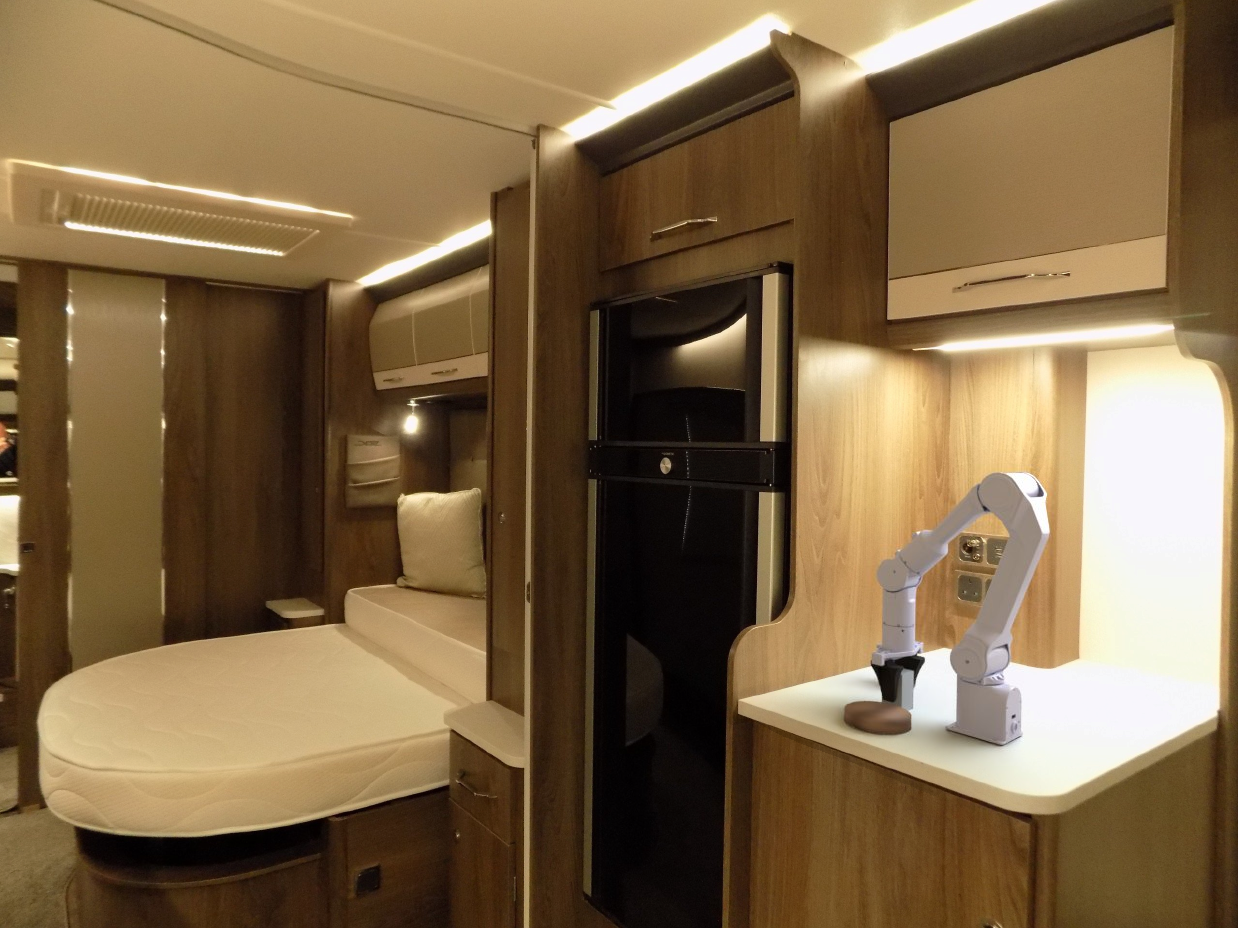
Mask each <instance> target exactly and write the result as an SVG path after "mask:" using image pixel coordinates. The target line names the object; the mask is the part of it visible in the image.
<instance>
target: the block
mask: <svg viewBox="0 0 1238 928" xmlns="http://www.w3.org/2000/svg"><path fill="white" fill-rule="evenodd" d="M913 687H914V671H912V670H908V669H904V668H903V670H902V672H901V675H900V678H899V681H898V687H897V696H896V700H895V702H889V701H886V700H883V697H882V696H881V702H883V703H889V704H893V705H896V706H899V707H902V708H904V709H906V710H908V711H909V712H910V711H911V710H913V709H914V689H913ZM914 688H915V687H914Z"/></svg>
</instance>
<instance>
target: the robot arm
mask: <svg viewBox="0 0 1238 928" xmlns="http://www.w3.org/2000/svg"><path fill="white" fill-rule="evenodd" d="M1047 495H1048V493H1047V492H1046V490H1045V488H1044V487H1043V486H1042V484H1041V483H1040V482H1039V480H1038V478H1037V477H1035V476H1034V475H1033V474H1031V473H1028V472H1025V471H1017V472H1016V471H1015V472H1009V473H1008V472H1001V471H1000V472H998V471H996V472H992V473H989V474H988V475H986V476H985V477H984V478H983V479H982V480H981V481H980V483H977V484H975V485H974V486H973V487H972V488H971V489H970V490H969V491H968V493H967V494H966V495H965V496H964V497H963V498H962V499H961V500H960V501H959V503H957V504H956V506H955V507H954V508H953V509H952V510H951V511H949V513H948V514H947V515H946V516H945V517H944V518H943V519H942V520H941V521H940V522H939V523H938V524H937V525H936V526H935V528H933V529H931V530H930V529H923V530H921V531H914V532H913V534H912V535H910V537H911V538H912V540H910V541H909V543H907V544H906V545H905V546H904V547H903V548H902V549H898V550H896V551H895V552H894V558H885V559H882V561H881V563H880V564H879V565H878V567H877V569H876V579H877V582H878V583H879V585H880V586H881V588H882V597H881V598H882V600H881V602H882V603H881V604H882V608H881V610H882V612H881V613H882V614H881V615H882V617H881V642H878V643H876V645H875V646H876V648H877V649H876V650H875V651H873V652H872V653H871V660H870V666H871V669H872V670H873V672H874V675H876V678H877V681H878V684H879V689H880V692H881V693H880V694H881V698H882V697H883V700H886V701H889V702H895V700H896V696H897V687H898V681H899V678H900V675H901V672H902V670H903V668H904V669H908V670H912V671H914V686H915V682H916V683H917V677H918V675H919V673H920V671H921V670H922V667H923V665H924V664H925V663H926V658H925V657H924V656H921V655H919V654H923V653H924V642H921V641H917V640H916V599H917V598H916V597H917V588H918V587H919V585H920V584H921V583H922V581H923V576H924V575H925V574H926V573H928V571H930V570H931V569H932V568H933V567H934V566H935V565H937V564H938V562H940V561H941V560H942V559H943V558H945V556H947V555H948V551H949V543H950V542H951V541H953V540H954V539H955V538H956V537H957V536H959V535H960V534H962V532H964V531H965V530H966V529H967V528H969V527H970V526H971V525H972V524H974V522H976V521H977V520H978V519H980V518H981V517H982V516H984V515H990V514H993V515H994V516H995V517H996V518H997V519H998V520H999V521H1001V523H1002V525H1003V526H1004V528H1005V529H1006V531H1007V533H1008V535H1009V537H1008V539H1007V541H1006V544H1005V547H1004V549H1003V551H1002V553H1001V557H1000V559H999V562H998V564H997V567H996V570H995V571H994V574H993V576H992V579H991V581H990V584H989V587H988V589H987V592H986V594H985V596H984V600H983V601H982V604H981V607H980V609H979V611H978V614H977V616H976V619H975V621H974V622H973V623H972V624H971V625H970V627H968V629H967V630H966V631H965V633H964V634H963V637H962V639H961V640H960V642H959V643H956V644H955V646H953V647H952V649H951V651H950V654H949V661H950V665H951V668H952V671H954V673H955V675H956V709H955V710H956V711H955V713H956V714H955V715H956V716H955V717H956V718H955V721H953V722H952V723H950V724H947V725H946V726H945V729H946V730H948V731H952V732H955V733H959V734H962V735H966V736H969V737H973V738H976V739H979V740H982V741H986V742H989V743H992V744H997V745H1000V746H1004V745H1005V744H1008V743H1010V742H1012V741H1013V740H1015V739H1017V738H1018V737H1020V736H1022V735H1023V734H1024V732H1023V731H1022V694H1021V691H1020V689H1019V688H1018V687H1017V686H1014V685H1011V684H1009V683H1007V682H1006V681H1005V675H1004V670H1006V669H1007V668H1008V667H1009V665H1010V663H1011V659H1012V654H1011V645H1012V643H1013V640H1014V638H1013V635H1012V633H1011V629H1012V626H1013V624H1014V621H1015V620H1016V617H1017V614H1018V613H1019V609H1020V608H1021V605H1022V602H1023V600H1024V597H1025V595H1026V593H1027V591H1028V587H1030V586H1029V585H1030V584H1031V581H1032V578H1033V576H1034V573H1035V571H1036V569H1037V566H1038V564H1039V562H1040V559H1041V558H1042V557H1041V556H1042V555H1043V552H1044V551H1045V547H1046V545H1047V543H1048V540H1049V538H1050V533H1051V531H1050V530H1051V529H1050V524H1049V517H1048V512H1047V506H1046V499H1047ZM894 661H895V663H894ZM915 687H916V686H915ZM915 687H913V690H914V689H915Z"/></svg>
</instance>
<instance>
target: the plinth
mask: <svg viewBox="0 0 1238 928" xmlns="http://www.w3.org/2000/svg"><path fill="white" fill-rule="evenodd" d="M843 710H844V715H843V716H844V722H845V723H846V724H847V726H849V727H851V728H853V729H856V730H858V731H862V732H865V733H871V734H876V735H891V736H892V735H901V734H905V733H907V732H908V733H909V732H910V730H912V715H913V714H912V713H911V712H910V710H909V711H908V710H906V709H904V708H902V707H899V706H896V705H893V704H889V703H883V702H882V701H874V700H867V701H866V700H860V701H859V700H858V701H853V702H850V703H847V704H846V705H845V706H844V709H843Z"/></svg>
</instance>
